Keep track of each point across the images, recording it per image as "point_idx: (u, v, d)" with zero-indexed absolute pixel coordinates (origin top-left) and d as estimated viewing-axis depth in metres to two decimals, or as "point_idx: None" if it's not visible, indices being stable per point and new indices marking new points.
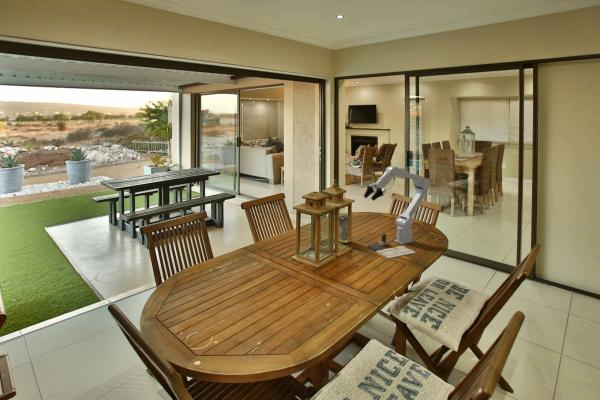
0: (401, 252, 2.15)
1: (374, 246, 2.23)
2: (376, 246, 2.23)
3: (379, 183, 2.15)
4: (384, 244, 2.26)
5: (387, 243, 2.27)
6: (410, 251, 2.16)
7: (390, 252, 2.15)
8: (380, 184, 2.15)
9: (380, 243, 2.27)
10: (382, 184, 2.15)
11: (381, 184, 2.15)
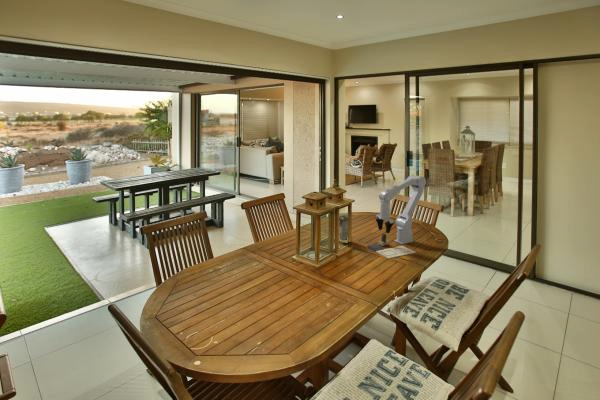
0: (401, 252, 2.15)
1: (374, 246, 2.23)
2: (376, 246, 2.23)
3: (383, 216, 2.21)
4: (384, 244, 2.26)
5: (387, 243, 2.27)
6: (410, 251, 2.16)
7: (390, 252, 2.15)
8: (384, 216, 2.21)
9: (380, 243, 2.27)
10: (386, 215, 2.21)
11: (385, 215, 2.21)
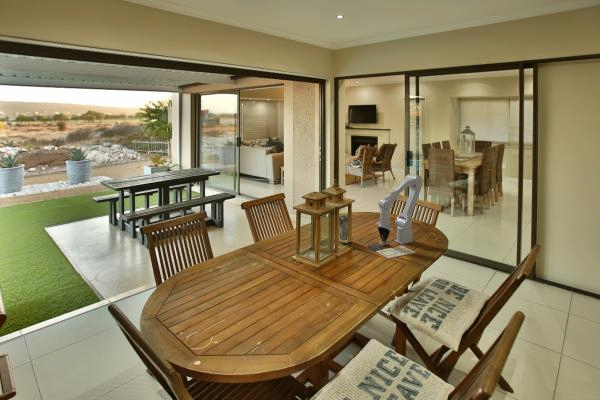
0: (401, 252, 2.15)
1: (374, 246, 2.23)
2: (376, 246, 2.23)
3: (383, 223, 2.22)
4: (384, 244, 2.26)
5: (387, 243, 2.27)
6: (410, 251, 2.16)
7: (390, 252, 2.15)
8: (384, 224, 2.22)
9: (380, 243, 2.27)
10: (386, 222, 2.22)
11: (385, 223, 2.22)
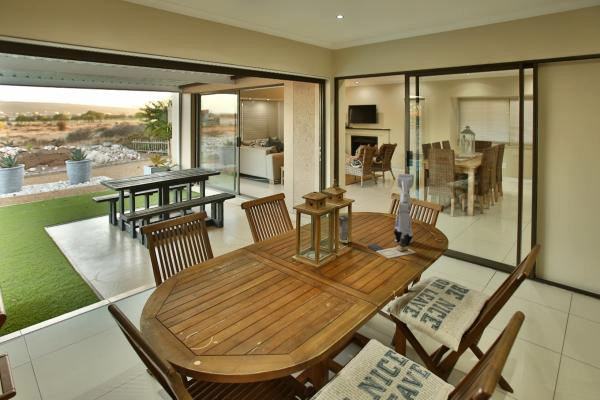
0: (401, 252, 2.15)
1: (374, 246, 2.23)
2: (376, 246, 2.23)
3: (402, 228, 2.12)
4: (402, 249, 2.16)
5: (406, 248, 2.16)
6: (410, 251, 2.16)
7: (390, 252, 2.15)
8: (403, 228, 2.12)
9: (398, 248, 2.17)
10: (405, 227, 2.12)
11: (404, 228, 2.12)
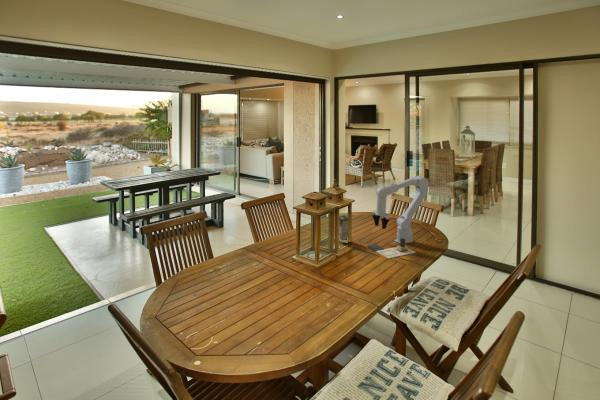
0: (401, 252, 2.15)
1: (374, 246, 2.23)
2: (376, 246, 2.23)
3: (379, 212, 2.26)
4: (402, 249, 2.16)
5: (406, 248, 2.16)
6: (410, 251, 2.16)
7: (390, 252, 2.15)
8: (381, 212, 2.26)
9: (398, 248, 2.17)
10: (382, 211, 2.25)
11: (381, 211, 2.25)
